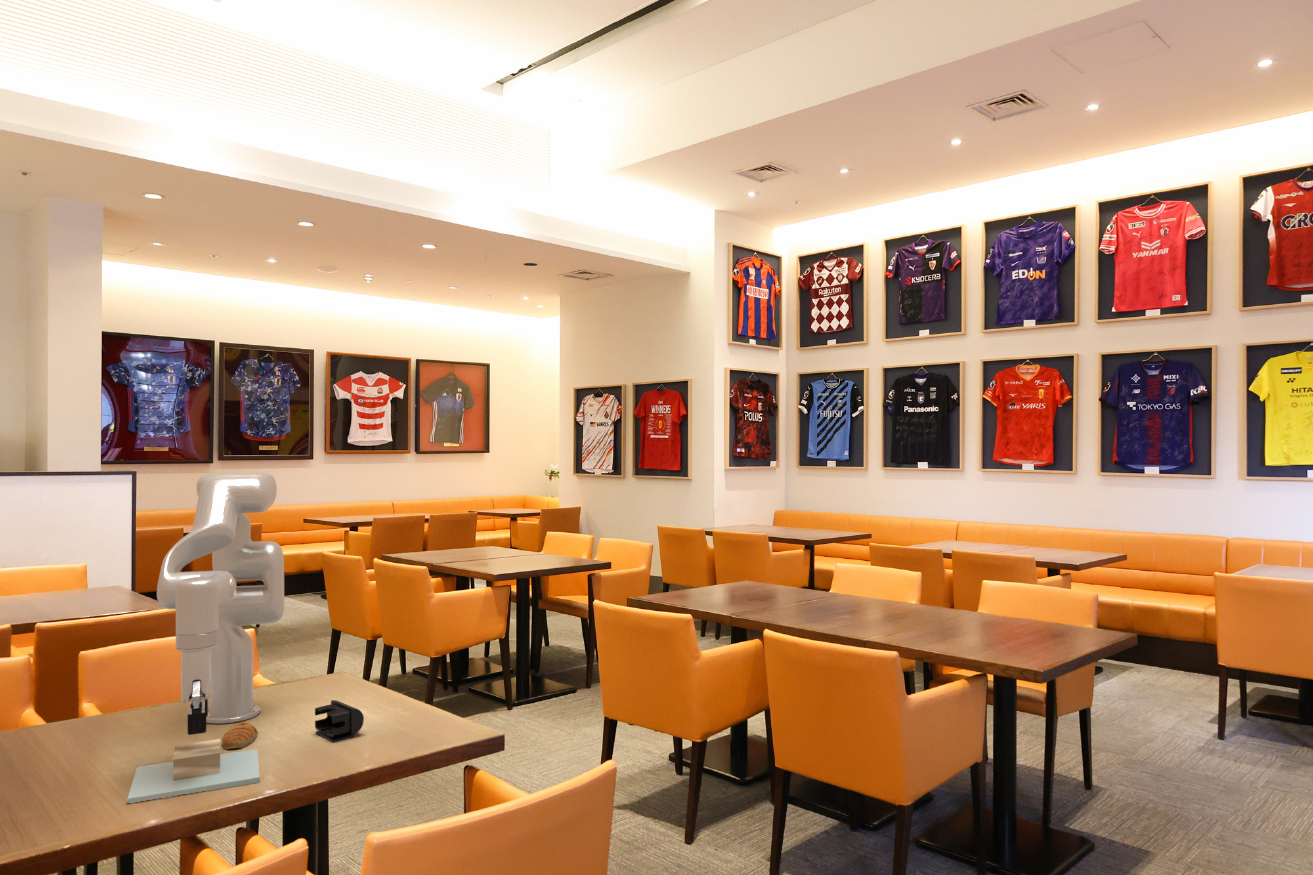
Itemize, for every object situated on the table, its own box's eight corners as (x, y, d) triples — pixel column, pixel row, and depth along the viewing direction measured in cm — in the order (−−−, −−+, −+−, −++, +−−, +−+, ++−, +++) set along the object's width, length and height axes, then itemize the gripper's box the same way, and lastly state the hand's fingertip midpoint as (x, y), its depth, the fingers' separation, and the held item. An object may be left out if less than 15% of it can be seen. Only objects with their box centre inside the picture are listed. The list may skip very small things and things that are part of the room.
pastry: (250, 750, 184) (250, 732, 184) (216, 753, 182) (216, 735, 182) (259, 736, 193) (259, 719, 193) (226, 739, 191) (226, 722, 191)
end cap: (364, 735, 192) (364, 705, 192) (334, 743, 187) (334, 712, 187) (343, 726, 199) (343, 697, 199) (314, 733, 194) (313, 704, 194)
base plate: (137, 771, 171) (137, 754, 171) (257, 753, 181) (257, 737, 181) (127, 804, 155) (127, 785, 155) (259, 782, 165) (259, 764, 165)
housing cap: (175, 770, 169) (175, 745, 169) (220, 763, 172) (220, 738, 172) (173, 780, 163) (173, 754, 163) (219, 773, 167) (219, 747, 167)
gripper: (178, 632, 174) (178, 715, 175) (173, 652, 159) (173, 743, 159) (219, 629, 178) (219, 710, 178) (217, 647, 162) (218, 736, 162)
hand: (198, 725), depth 169 cm, fingers open, 9 cm apart
